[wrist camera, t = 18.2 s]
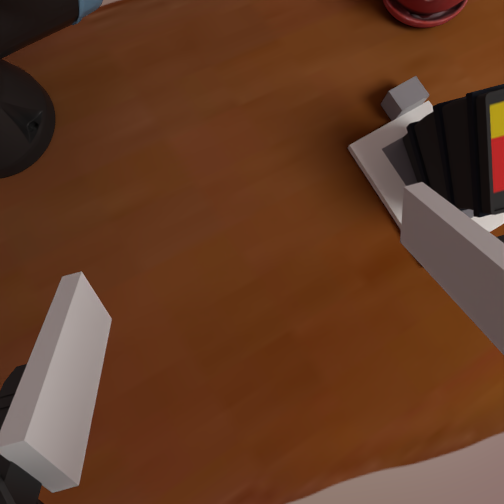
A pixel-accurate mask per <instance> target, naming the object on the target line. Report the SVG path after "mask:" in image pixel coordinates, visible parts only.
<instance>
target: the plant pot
mask: <svg viewBox="0 0 504 504" xmlns="http://www.w3.org/2000/svg"><path fill="white" fill-rule="evenodd" d="M467 1H468V0H383V2H384V5H385V7H386V8H387V10H388V11H389V12H390V14H391V15H392V16H393V17H395V18H396V19H397V20H399V21H400V22H402V23H404V24H407V25H410V26H413V27H420V28H427V27H434V26H438V25H441V24H444V23H446V22H448V21H449V20H451V19H452V18H454V17H455V16H456V15H457V14H458V13H459V12H460V11H461V10H462V9H463V8H464V6H465V5H466V3H467Z"/></svg>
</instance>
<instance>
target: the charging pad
mask: <svg viewBox="0 0 504 504" xmlns="http://www.w3.org/2000/svg"><path fill="white" fill-rule="evenodd" d="M428 96H429V94H428V92H427V91H426V90H425V88H424V87H423V85H422V84H421V83H420V81H419V80H418V78H417V77H416V76H415V77H413V78H411V79H409V80H408V81H406V82H404V83H402V84H400V85H399V86H397V87H395V88H393V89H391V90H390V91H388V93H387V95H386V96H385V98H384V99H383V101H382V103H381V104H380V105H381V106H382V107H383V109H384V110H385V112H386V113H387V115H388V116H389V118H390V119H391V122H389V123H388V124H386V125H384V126H382V127H381V128H379V129H377V130H375V131H373V132H372V133H370V134H368V135H366V136H364V137H363V138H361V139H359V140H357V141H356V142H354V143H352V144H350V145H349V147H348V150H349V152H350V153H351V155H352V156H353V158H354V159H355V161H356V162H357V164H358V165H359V167H360V168H361V170H362V171H363V173H364V175H365V176H366V178H367V179H368V181H369V182H370V184H371V185H372V187H373V188H374V190H375V191H376V193H377V194H378V196H379V197H380V199H381V201H382V202H383V204H384V205H385V207H386V208H387V210H388V211H389V213H390V214H391V216H392V217H393V219H394V220H395V222H396V223H397V225H398V227H399V228H400V230H401V222H402V207H403V192H404V187H405V186H408V185H412V184H416V183H418V182H417V180H416V177H415V174H414V171H413V168H412V165H411V163H410V160H409V157H408V154H407V151H406V148H405V146H404V143H403V137H404V136H405V135H406V134H407V133H408V132H407V129H406V127H407V126H408V125H409V124H410V123H413V122H417V121H420V120H421V119H423V118H424V117H425V116H426V115H428V114H430V113H431V112H433V106H432V105H431V103H430V102H429V101H427V102H425V103H424V101H425V100H426V99H427V98H428ZM462 212H463V213H464V214H466V215H467V216H468V217H470V218H471V219H472V220H474V221H475V222H476V223H478V224H479V225H480V226H482V227H483V228H484V229H486V230H487V231H488V232H490V231H492V230H493V229H495V228H497V227H499V226H500V225H502V224H504V213H500V214H497V215H488V216H484V217H480V218H478V217H474V214H473V210H471V209H467V210H463V211H462Z"/></svg>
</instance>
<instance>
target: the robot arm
mask: <svg viewBox="0 0 504 504" xmlns="http://www.w3.org/2000/svg"><path fill="white" fill-rule="evenodd" d="M102 1H103V0H0V178H4V177H8V176H12V175H15V174H17V173H19V172H21V171H23V170H25V169H26V168H28V167H29V166H31V165H32V164H33V163H34V162H36V161H37V160H38V159H39V158H40V156H41V155H42V154H43V153H44V151H45V150H46V148H47V147H48V145H49V143H50V141H51V138H52V136H53V132H54V128H55V111H54V107H53V103H52V101H51V99H50V97H49V95H48V93H47V92H46V91H45V89H44V88H43V87H42V86H41V85H40V84H39V83H38V82H37V81H36V80H35V79H34V78H33V77H32V76H31V75H30V74H28V73H27V72H25V71H24V70H22V69H21V68H19V67H17V66H15V65H13V64H11V63H9V62H7V61H4V60H2V58H4V57H6V56H8V55H10V54H12V53H14V52H16V51H18V50H20V49H22V48H24V47H26V46H28V45H30V44H32V43H34V42H36V41H38V40H40V39H42V38H44V37H47V36H49V35H51V34H53V33H55V32H57V31H59V30H61V29H63V28H65V27H68V26H70V25H75V24H77V23H79V22H80V21H81V19H82V18H83V17H85V16H86V15H88V14H90V13H92V12H93V11H95V10H96V9H98V8H99V7H100V5H101V4H102ZM400 242H401V243H402V244H403V246H404V247H405V248H406V249H407V250H408V251H409V252H410V253H411V254H412V255H413V256H414V258H415V259H416V260H417V261H418V262H419V263H420V264H421V265H422V266H423V267H424V268H425V270H426V271H427V272H428V273H429V274H430V275H431V276H432V277H433V278H434V279H435V280H436V282H437V283H438V284H439V285H440V286H441V287H442V288H443V289H444V290H445V291H446V292H447V294H448V295H449V296H450V297H451V298H452V299H453V300H454V301H455V302H456V303H457V304H458V306H459V307H460V308H461V309H462V310H463V311H464V312H465V313H466V314H467V315H468V316H469V318H470V319H471V320H472V321H473V322H474V323H475V324H476V325H477V326H478V327H479V328H480V330H481V331H482V332H483V333H484V334H485V335H486V336H487V337H488V338H489V339H490V340H491V342H492V343H493V344H494V345H495V346H496V347H497V348H498V349H499V350H500V351H501V352H502V354H503V355H504V235H502V236H498V237H495V236H494V235H492V234H491V233H490V232H488V231H487V230H486V229H484V228H483V227H482V226H480V225H479V224H478V223H476V222H475V221H474V220H472V219H471V218H470V217H468V216H467V215H466V214H464V213H463V212H462V211H460V210H459V209H458V208H456V207H455V206H454V205H452V204H451V203H450V202H448V201H447V200H446V199H444V198H443V197H442V196H440V195H439V194H438V193H436V192H435V191H434V190H432V189H431V188H430V187H428V186H427V185H426V184H424V183H423V182H420V183H416V184H412V185H408V186H405V187H404V192H403V207H402V222H401V237H400ZM111 320H112V319H111V317H110V315H109V314H108V312H107V311H106V309H105V308H104V306H103V304H102V303H101V301H100V300H99V298H98V296H97V295H96V293H95V292H94V290H93V289H92V287H91V285H90V284H89V282H88V281H87V279H86V278H85V276H84V274H83V273H82V272H78V273H74V274H70V275H66V276H63V277H62V279H61V281H60V284H59V286H58V289H57V291H56V294H55V296H54V299H53V301H52V304H51V306H50V309H49V311H48V314H47V316H46V319H45V321H44V323H43V326H42V328H41V331H40V333H39V336H38V338H37V341H36V343H35V346H34V348H33V351H32V353H31V356H30V358H29V361H28V363H27V364H25V365H21V366H18V367H16V368H15V369H14V371H13V372H12V373H11V374H10V376H9V377H8V378H7V379H6V381H5V382H4V384H3V386H2V388H1V391H0V504H44V503H42V502H41V501H40V500H39V499H38V496H39V493H40V489H41V485H43V486H44V487H46V488H47V489H48V490H50V491H51V492H52V493H53V492H57V491H61V490H64V489H68V488H71V487H75V486H79V482H80V477H81V472H82V467H83V462H84V457H85V452H86V447H87V441H88V436H89V431H90V426H91V421H92V416H93V411H94V406H95V401H96V396H97V391H98V386H99V381H100V376H101V371H102V365H103V360H104V355H105V350H106V345H107V340H108V335H109V330H110V325H111Z"/></svg>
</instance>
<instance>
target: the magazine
mask: <svg viewBox="0 0 504 504" xmlns="http://www.w3.org/2000/svg"><path fill="white" fill-rule="evenodd" d="M406 129H407V132H408V133H407V134H406V135H405V136H404V137H403V143H404V146H405V148H406V151H407V154H408V157H409V160H410V163H411V165H412V168H413V171H414V174H415V177H416V180H417V182H418V183H420V182H423V183H424V184H426V185H427V186H428V187H430V188H431V189H432V190H434V191H435V192H436V193H438V194H439V195H440V196H442V197H443V198H444V199H446V200H447V201H448V202H450V203H451V204H452V205H454V206H455V207H456V208H458V209H459V210H460V211H463V210H467V209H471V210H473V214H474V217H478V218H480V217H484V216H488V215H497V214H500V213H504V84H502V85H498V86H494V87H490V88H486V89H483V90H479V91H475V92H471V93H467V94H466V97H462V98H458V99H454V100H451V101H447V102H443V103H439V104H437V105H435V106H433V112H431V113H430V114H428V115H426V116H425V117H424V118H423V119H421V120H420V121H417V122H413V123H410V124H409V125H408V126H407V127H406Z"/></svg>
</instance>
